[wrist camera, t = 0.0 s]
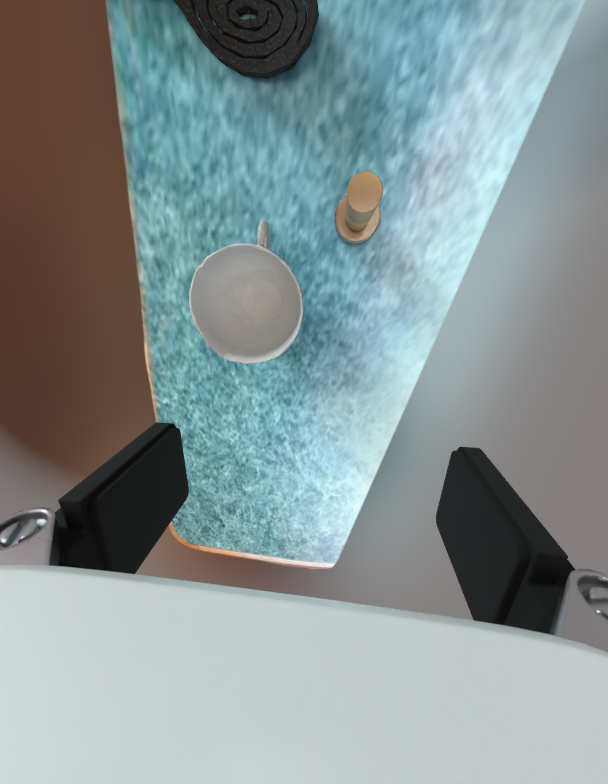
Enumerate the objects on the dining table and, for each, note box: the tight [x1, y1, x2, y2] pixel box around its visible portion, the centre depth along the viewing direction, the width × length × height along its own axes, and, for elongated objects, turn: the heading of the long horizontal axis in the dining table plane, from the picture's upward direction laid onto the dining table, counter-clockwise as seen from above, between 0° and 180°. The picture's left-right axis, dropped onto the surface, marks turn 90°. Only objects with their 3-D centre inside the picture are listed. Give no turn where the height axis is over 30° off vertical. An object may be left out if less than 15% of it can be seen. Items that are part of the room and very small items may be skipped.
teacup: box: [189, 220, 304, 364], centre depth 35 cm, size 15×12×8 cm
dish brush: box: [335, 171, 383, 246], centre depth 28 cm, size 5×5×14 cm
